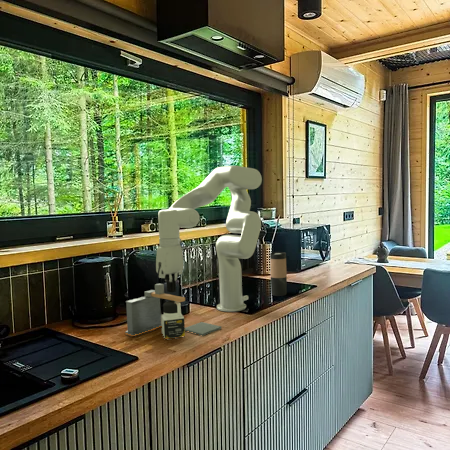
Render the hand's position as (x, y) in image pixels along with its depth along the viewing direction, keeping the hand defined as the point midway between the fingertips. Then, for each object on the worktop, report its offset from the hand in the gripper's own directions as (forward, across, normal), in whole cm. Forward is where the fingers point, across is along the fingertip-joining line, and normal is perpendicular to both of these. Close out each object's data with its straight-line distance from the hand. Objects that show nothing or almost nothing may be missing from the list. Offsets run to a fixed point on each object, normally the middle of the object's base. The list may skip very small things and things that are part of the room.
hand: (171, 291), depth 159 cm
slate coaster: (+13, -4, +12) cm, 18 cm away
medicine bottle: (+14, +7, +8) cm, 17 cm away
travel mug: (+13, -64, +4) cm, 66 cm away
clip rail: (+13, +9, -5) cm, 17 cm away
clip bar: (+1, +6, +3) cm, 6 cm away
